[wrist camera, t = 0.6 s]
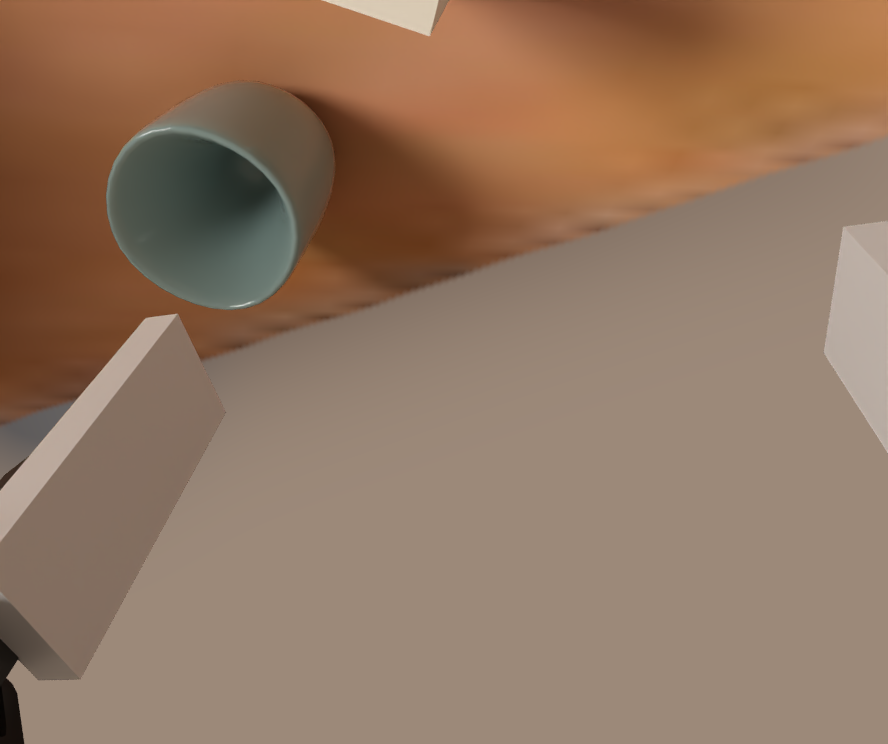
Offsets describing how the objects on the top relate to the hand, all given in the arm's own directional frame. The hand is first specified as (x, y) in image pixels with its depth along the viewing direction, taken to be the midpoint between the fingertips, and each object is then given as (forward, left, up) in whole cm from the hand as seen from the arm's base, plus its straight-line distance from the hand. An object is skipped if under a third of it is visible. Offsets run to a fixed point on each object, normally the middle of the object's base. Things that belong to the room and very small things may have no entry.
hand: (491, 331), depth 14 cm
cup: (-10, -7, -22) cm, 25 cm away
